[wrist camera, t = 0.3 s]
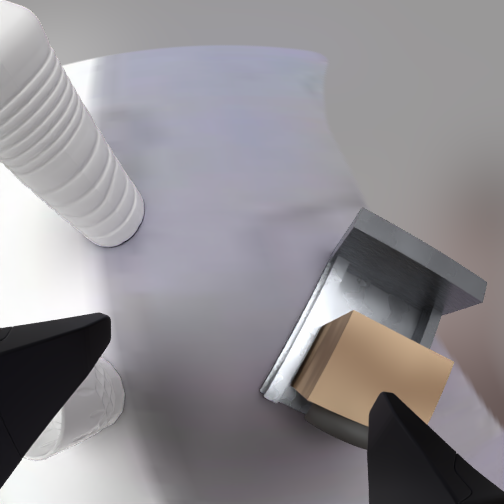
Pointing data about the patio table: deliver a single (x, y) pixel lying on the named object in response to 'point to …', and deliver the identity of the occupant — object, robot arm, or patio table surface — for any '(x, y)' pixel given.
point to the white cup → (82, 413)
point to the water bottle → (58, 137)
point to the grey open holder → (376, 294)
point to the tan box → (366, 375)
